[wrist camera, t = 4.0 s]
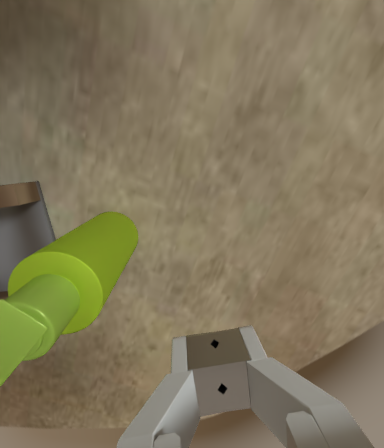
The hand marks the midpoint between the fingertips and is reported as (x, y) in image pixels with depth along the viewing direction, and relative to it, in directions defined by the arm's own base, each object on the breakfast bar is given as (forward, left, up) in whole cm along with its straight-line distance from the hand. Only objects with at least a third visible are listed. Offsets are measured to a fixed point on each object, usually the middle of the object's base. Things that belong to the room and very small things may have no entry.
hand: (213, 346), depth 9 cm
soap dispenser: (+9, 0, -20) cm, 22 cm away
